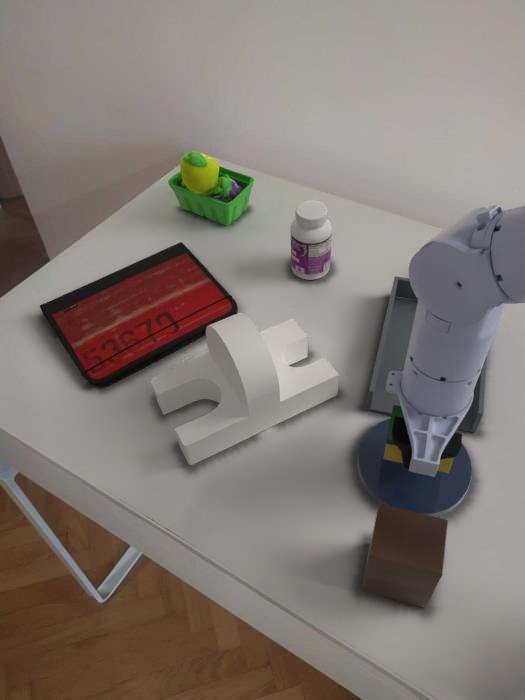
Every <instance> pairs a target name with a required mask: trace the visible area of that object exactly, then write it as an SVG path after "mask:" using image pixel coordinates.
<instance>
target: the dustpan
mask: <svg viewBox="0 0 525 700" xmlns="http://www.w3.org/2000/svg"><path fill="white" fill-rule="evenodd" d="M388 299H389V300H388V304H387V307H386V308H387V309H386V313H385V318H384V322H383V327H382V331H381V335H380V340H379V343H378V344H379V345H378V348H377V352H376V357H375V362H374V366H373V371H372V375H371V378H370V379H371V380H370V383H369V389H368V394H367V400H366V407H365V410H366V411H370V412H374V413H375V412H376V413H379V414H385V415H389V416H391V413H392V408H393V405H397V406H401V404H400V401H399V397H398V396H397V395H395V394H391V393H389V392H387V391H386V383H387V378H388V374H389V372H390V371H403V368H404V365H405V360H406V356H407V351H408V346H409V341H410V337H411V332H412V327H413V322H414V318H415V313H416V308H417V304H418V298H417V297H416V295H415V293H414V291H413V289H412V287H411V284H410V280H409V277H402V276H397V275H395V276H394V278H393V283H392V285H391V292H390V296H389V298H388ZM487 361H488V355H487V356H486V359H485V361H484V364H483V367H482V370H481V372H480V375H479V377H478V380H477V383H476V385H475V388H474V391H473V393H474V396H473V401H472V404H471V406H470V408H469V410H468V412H467V413H466V415H465V417H464V418H463V420H462V421H461V423H460V425H459V426H458V430H460V431H465V432H471V433H475V434H477V433H476V432H477V430H478V428H479V425H480V424H481V421H482V419H483V416H484V408H485V395H486V394H485V393H486V392H485V391H486V378H487Z"/></svg>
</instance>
